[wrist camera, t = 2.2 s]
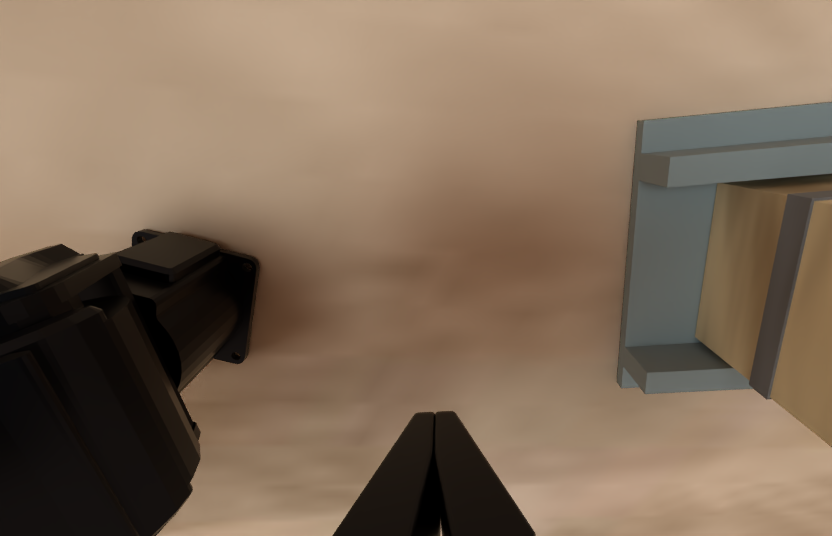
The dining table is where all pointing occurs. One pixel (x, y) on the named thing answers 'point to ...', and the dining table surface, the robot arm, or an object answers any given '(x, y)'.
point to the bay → (697, 230)
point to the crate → (774, 291)
